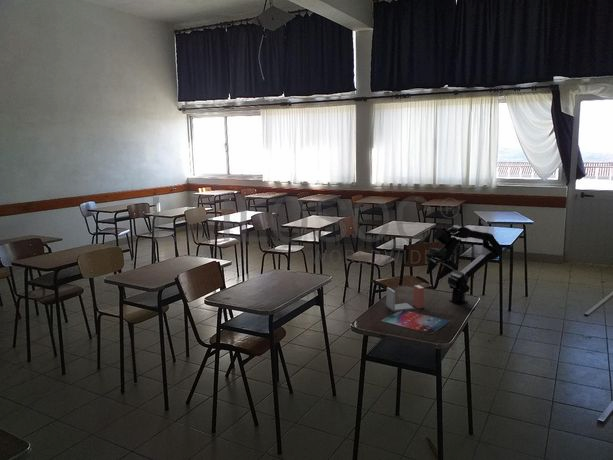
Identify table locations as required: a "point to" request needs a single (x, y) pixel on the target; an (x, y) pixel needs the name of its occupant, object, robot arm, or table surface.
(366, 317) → the table surface
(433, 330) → the tablet
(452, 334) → the table surface
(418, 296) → the book
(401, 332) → the table surface
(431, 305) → the table surface
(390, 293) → the bookstand
